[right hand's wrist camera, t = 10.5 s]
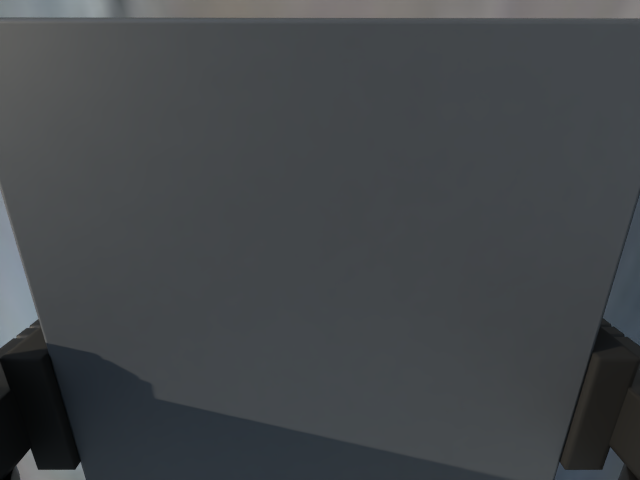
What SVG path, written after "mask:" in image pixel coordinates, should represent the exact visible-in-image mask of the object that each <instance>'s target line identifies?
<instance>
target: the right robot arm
mask: <svg viewBox="0 0 640 480" xmlns="http://www.w3.org/2000/svg"><path fill="white" fill-rule="evenodd" d="M610 447H611V448H612V449H613V450H614V452H615V453H616V454H617V455H618V456H619V457H620V459H621V460H622V461H623V462H624V466H623V469H622V471H621V474H620V476H619V479H618V480H640V346H639V345H638V344H636V343H635V342H634V341H632V340H631V339H630V338H628V337H624V334H623V333H622V332H620V331H619V330H618V329H616V328H615V327H611V324H610V323H609V322H607V321H606V320H605V319H603V318H602V321H601V325H600V328H599V331H598V335H597V338H596V341H595V345H594V348H593V351H592V355H591V358H590V361H589V365H588V368H587V371H586V375H585V378H584V381H583V385H582V388H581V391H580V395H579V398H578V401H577V405H576V408H575V411H574V415H573V418H572V421H571V425H570V428H569V431H568V435H567V438H566V442H565V445H564V448H563V452H562V455H561V458H560V463H561V464H562V466H563V467H564V469H565V470H602V469H603V466H604V463H605V460H606V457H607V455H608V452H609V449H610ZM30 448H31V451H32V454H33V456H34V459H35V462H36V465H37V468H38V470H75V469H76V468H77V466H78V465H79V463H80V462H81V461H80V457H79V454H78V451H77V447H76V444H75V441H74V437H73V434H72V430H71V427H70V424H69V420H68V417H67V413H66V410H65V407H64V403H63V400H62V396H61V393H60V390H59V386H58V383H57V379H56V376H55V373H54V369H53V366H52V363H51V359H50V356H49V352H48V349H47V346H46V342H45V339H44V335H43V332H42V329H41V325H40V322H39V319H38V320H37V321H35V322H34V323H33V324H32V325H30V328H26V329H25V330H24V331H22V332H21V333H20V334H18V335H17V338H13V339H12V340H11V341H9V342H8V343H7V344H5V345H4V346H3V347H1V348H0V480H20V474H19V471H18V469H17V466H16V465H17V464H18V462H19V461H20V460H21V459H22V458H23V457H24V455H25V454H26V453H27V452H28V451H29V449H30Z"/></svg>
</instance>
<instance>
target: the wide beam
mask: <svg viewBox="0 0 640 480" xmlns="http://www.w3.org/2000/svg"><path fill="white" fill-rule="evenodd" d="M0 190H1V193H2V196H3V200H4V203H5V207H6V210H7V213H8V217H9V220H10V224H11V227H12V230H13V234H14V237H15V240H16V244H17V247H18V251H19V254H20V257H21V261H22V264H23V268H24V271H25V274H26V278H27V281H28V285H29V288H30V291H31V295H32V298H33V302H34V305H35V308H36V312H37V315H38V318H39V322H40V325H41V329H42V332H43V335H44V339H45V342H46V346H47V349H48V352H49V356H50V359H51V363H52V366H53V369H54V373H55V376H56V379H57V383H58V386H59V390H60V393H61V396H62V400H63V403H64V407H65V410H66V413H67V417H68V420H69V424H70V427H71V430H72V434H73V437H74V441H75V444H76V447H77V451H78V454H79V457H80V461H81V464H82V468H83V471H84V474H85V478H86V480H554V478H555V475H556V472H557V468H558V465H559V462H560V458H561V455H562V452H563V448H564V445H565V442H566V438H567V435H568V431H569V428H570V425H571V421H572V418H573V415H574V411H575V408H576V405H577V401H578V398H579V395H580V391H581V388H582V385H583V381H584V378H585V375H586V371H587V368H588V365H589V361H590V358H591V355H592V351H593V348H594V345H595V341H596V338H597V335H598V331H599V328H600V325H601V321H602V318H603V315H604V311H605V308H606V305H607V301H608V298H609V295H610V291H611V288H612V285H613V281H614V278H615V275H616V271H617V268H618V264H619V261H620V258H621V254H622V251H623V248H624V244H625V241H626V238H627V234H628V231H629V228H630V224H631V221H632V218H633V214H634V211H635V208H636V204H637V201H638V198H639V194H640V19H548V18H0Z"/></svg>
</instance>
